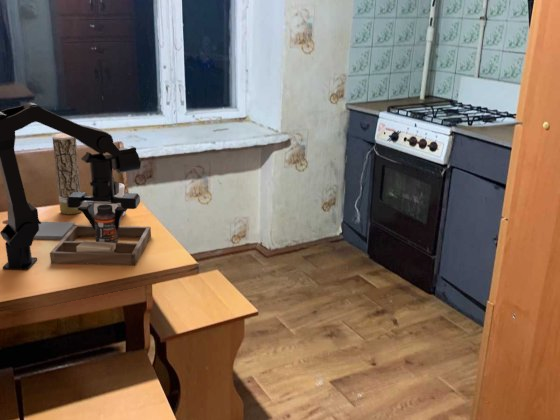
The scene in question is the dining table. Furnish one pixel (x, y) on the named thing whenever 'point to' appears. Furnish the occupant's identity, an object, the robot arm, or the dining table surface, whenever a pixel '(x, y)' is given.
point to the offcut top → (96, 247)
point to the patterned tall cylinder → (66, 169)
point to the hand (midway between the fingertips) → (106, 229)
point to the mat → (53, 230)
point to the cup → (120, 194)
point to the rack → (123, 256)
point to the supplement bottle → (105, 224)
